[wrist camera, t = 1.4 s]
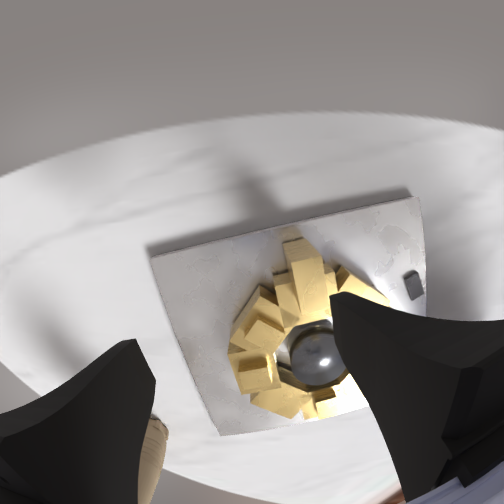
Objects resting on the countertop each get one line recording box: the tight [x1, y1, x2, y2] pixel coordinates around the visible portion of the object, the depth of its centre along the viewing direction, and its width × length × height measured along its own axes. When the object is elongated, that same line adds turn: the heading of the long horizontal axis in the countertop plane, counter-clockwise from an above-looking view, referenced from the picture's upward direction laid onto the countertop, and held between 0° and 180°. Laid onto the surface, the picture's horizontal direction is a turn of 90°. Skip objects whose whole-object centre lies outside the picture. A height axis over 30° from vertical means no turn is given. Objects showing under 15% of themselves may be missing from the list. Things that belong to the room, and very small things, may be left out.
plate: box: [150, 196, 427, 436], centre depth 21 cm, size 18×20×4 cm
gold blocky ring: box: [227, 239, 392, 420], centre depth 19 cm, size 14×12×5 cm
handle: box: [138, 418, 169, 504], centre depth 18 cm, size 5×6×15 cm
